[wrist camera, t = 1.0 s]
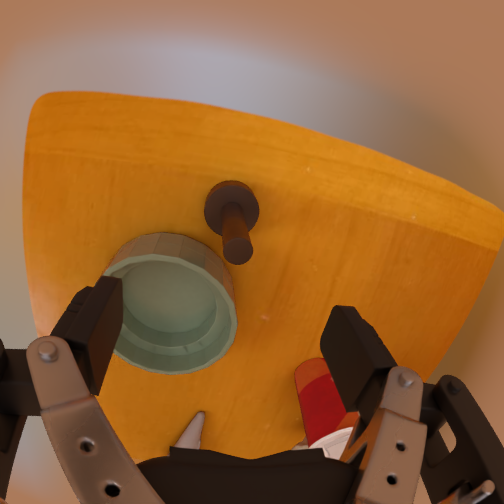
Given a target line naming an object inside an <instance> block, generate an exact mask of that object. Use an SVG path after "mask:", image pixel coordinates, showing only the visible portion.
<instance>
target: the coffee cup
mask: <svg viewBox="0 0 504 504" xmlns="http://www.w3.org/2000/svg"><path fill="white" fill-rule="evenodd" d="M295 383H296V388H297V393H298V398H299V403H300V408H301V413H302V418H303V423H304V428H305V433H306V438H307V443H308V448H309V449H312V448H323V451H324V455H325V457H328V458H333V459H337V460H339V458H340V457H341V455H342V453H343V451H344V448H345V446H346V444H347V441H348V439H349V437H350V434H351V432H352V430H353V427H354V425H355V422H356V420H357V418H358V417H359V415H358V413H357V412H349V413H346V410H345V408H344V405H343V403H342V400H341V398H340V395H339V393H338V390H337V388H336V386H335V383H334V381H333V378H332V376H331V374H330V371H329V369H328V366H327V364H326V361H325V359H324V358H314V359H310V360H308V361H305V362H304V363H302V364H301V365H300V366H299V367H298V368H297V369H296V371H295Z"/></svg>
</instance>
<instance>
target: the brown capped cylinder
mask: <svg viewBox="0 0 504 504" xmlns="http://www.w3.org/2000/svg"><path fill="white" fill-rule="evenodd" d="M204 214H205V219H206V222H207V224H208V226H209V227H210V228H211V229H212V230H213V231H214V232H215V233H217V234H219V235H221V236H222V239H223V254H224V257H225V259H226V260H227V261H228V262H230V263H232V264H235V265H241V264H244V263H246V262H247V261H249V259H250V258H251V257H252V254H253V247H252V244H251V240H250V236H249V233H248V232H249V231H250V230H251V229H252V228H253V227H254V226H255V224H256V222H257V220H258V217H259V205H258V202H257V200H256V198H255V195H254V194H253V192H252V190H251V189H250V188H249V187H248V186H247V185H245V184H243V183H241V182H238V181H224V182H221V183H219V184H217V185H216V186H214V187H213V188H212V189H211V190H210V192H209V193H208V195H207V198H206V202H205V209H204Z"/></svg>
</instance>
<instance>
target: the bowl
mask: <svg viewBox="0 0 504 504" xmlns="http://www.w3.org/2000/svg"><path fill="white" fill-rule="evenodd" d="M102 275H104V276H110V277H116V278H121V279H122V283H123V324H122V328H121V332H120V334H119V337H118V340H117V342H116V345H115V348H114V351H113V353H114V354H116V355H117V356H119V357H120V358H122V359H123V360H125V361H126V362H128V363H129V364H131V365H133V366H136V367H138V368H141V369H143V370H146V371H149V372H154V373H160V374H167V375H176V374H188V373H193V372H196V371H198V370H201V369H204V368H207V367H209V366H210V365H212V364H213V363H215V362H216V361H218V360H219V359H220V358H222V357H223V356H224V355H225V353H226V352H227V350H228V349H229V348H230V346H231V345H232V343H233V342H234V338H235V334H236V330H237V325H238V321H237V312H236V303H235V294H234V288H233V282H232V278H231V275H230V273H229V272H228V270H227V268H226V266H225V265H224V263H223V261H222V260H221V259H220V258H219V257H218V256H217V255H216V254H215V253H214V252H213V251H212V250H210V249H209V248H208V247H207V246H206V245H204V244H202V243H200V242H198V241H196V240H194V239H192V238H189V237H187V236H185V235H179V234H172V233H165V232H160V233H154V234H148V235H142V236H139V237H137V238H135V239H134V240H132V241H130V242H128V243H126V244H125V245H123V246H122V247H121V248H120V249H119V251H118V252H117V253H116V254H115V255H114V257H113V258H112V259H111V260H110V262H109V263H108V265H107V266H106V268H105V269H104V271H103V273H102V274H101V276H102ZM101 276H100V277H101ZM100 277H99V278H100ZM98 280H99V279H98ZM98 280H97V281H98ZM96 283H97V282H96Z"/></svg>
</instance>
